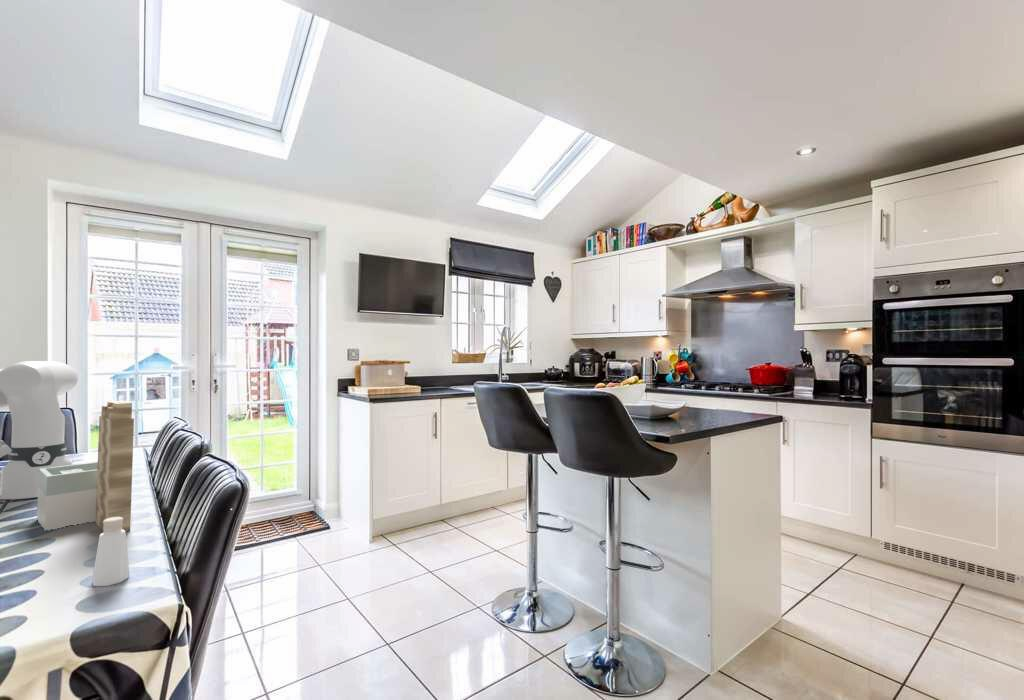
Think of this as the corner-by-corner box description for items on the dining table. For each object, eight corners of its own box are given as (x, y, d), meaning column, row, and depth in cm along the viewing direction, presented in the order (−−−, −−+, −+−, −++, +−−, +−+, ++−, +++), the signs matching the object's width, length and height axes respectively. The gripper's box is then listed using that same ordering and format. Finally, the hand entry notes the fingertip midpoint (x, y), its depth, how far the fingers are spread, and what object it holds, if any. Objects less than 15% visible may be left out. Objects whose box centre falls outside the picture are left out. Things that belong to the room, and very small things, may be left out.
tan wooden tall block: (95, 523, 114) (99, 401, 114) (116, 519, 117) (120, 400, 118) (108, 535, 106) (112, 404, 107) (130, 530, 109) (134, 403, 110)
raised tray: (36, 519, 116) (38, 468, 116) (117, 505, 128) (118, 459, 128) (45, 531, 108) (47, 476, 109) (129, 514, 120) (131, 465, 121)
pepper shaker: (85, 589, 81) (87, 525, 82) (98, 576, 86) (100, 515, 87) (124, 583, 84) (126, 521, 84) (134, 571, 89) (136, 512, 89)
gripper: (-68, 488, 106) (11, 450, 115) (-66, 506, 93) (22, 462, 103) (-90, 466, 103) (-7, 429, 113) (-91, 482, 91) (2, 438, 100)
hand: (7, 445), depth 108 cm, fingers open, 8 cm apart
